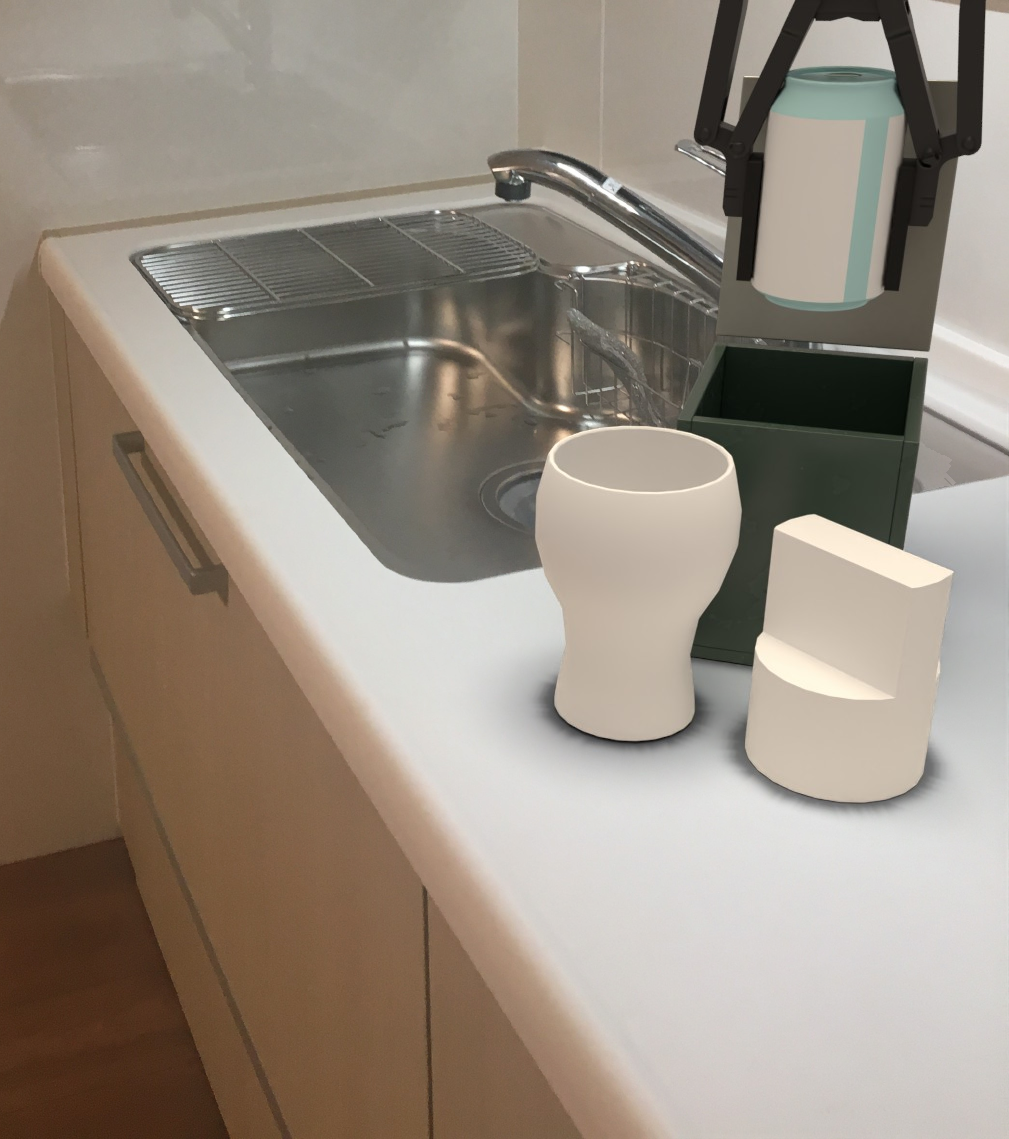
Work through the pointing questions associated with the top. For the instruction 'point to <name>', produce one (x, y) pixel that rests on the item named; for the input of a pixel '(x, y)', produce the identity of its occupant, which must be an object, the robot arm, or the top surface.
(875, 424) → the bin
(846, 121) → the can
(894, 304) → the bin lid
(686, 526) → the cup
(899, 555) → the base with upright slab
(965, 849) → the top surface
